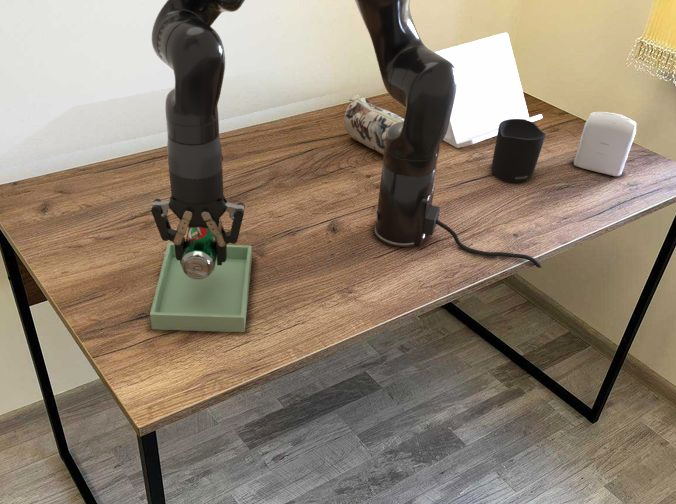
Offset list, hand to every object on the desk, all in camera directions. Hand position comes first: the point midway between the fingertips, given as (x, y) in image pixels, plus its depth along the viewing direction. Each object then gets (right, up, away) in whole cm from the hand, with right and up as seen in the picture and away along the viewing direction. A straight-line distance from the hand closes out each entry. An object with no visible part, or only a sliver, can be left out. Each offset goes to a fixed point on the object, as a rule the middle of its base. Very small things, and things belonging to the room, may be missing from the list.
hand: (202, 261), depth 116 cm
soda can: (0, +7, +3) cm, 7 cm away
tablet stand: (+55, +39, +57) cm, 88 cm away
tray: (0, -4, +5) cm, 7 cm away
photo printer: (+78, +25, +44) cm, 93 cm away
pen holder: (+59, +23, +40) cm, 75 cm away
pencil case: (+33, +29, +45) cm, 62 cm away
